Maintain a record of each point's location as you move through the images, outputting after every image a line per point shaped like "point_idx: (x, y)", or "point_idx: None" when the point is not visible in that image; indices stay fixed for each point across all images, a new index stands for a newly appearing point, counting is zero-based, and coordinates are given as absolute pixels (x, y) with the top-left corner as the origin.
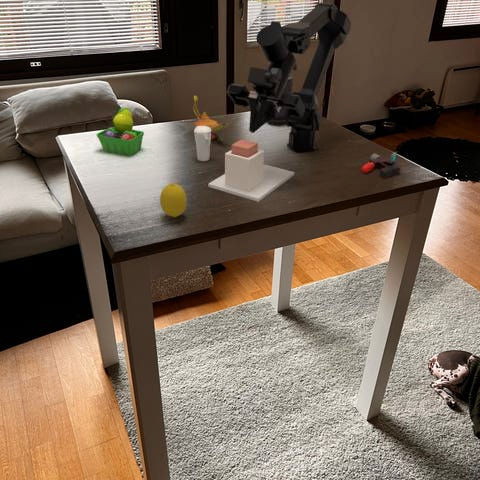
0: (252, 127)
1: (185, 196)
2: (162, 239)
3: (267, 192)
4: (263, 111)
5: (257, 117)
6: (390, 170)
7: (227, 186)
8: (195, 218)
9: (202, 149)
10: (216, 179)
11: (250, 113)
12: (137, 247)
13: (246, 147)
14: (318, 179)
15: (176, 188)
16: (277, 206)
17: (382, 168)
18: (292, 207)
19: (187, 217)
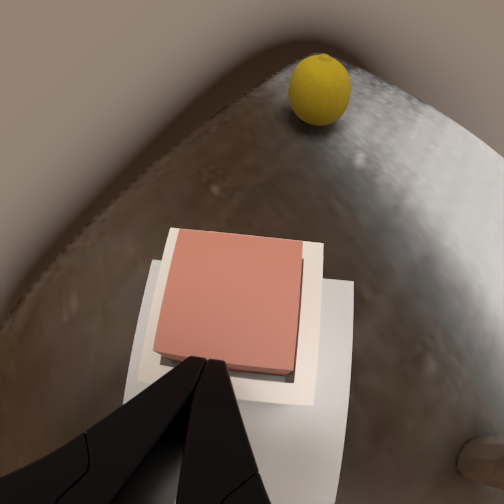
0: (189, 371)
1: (293, 84)
2: (280, 76)
3: (139, 318)
4: (13, 488)
5: (123, 446)
6: None
7: None
8: (271, 133)
9: (493, 442)
10: (349, 325)
11: (267, 502)
12: (299, 59)
13: (196, 245)
14: None
15: (309, 58)
16: (99, 264)
17: None
18: (64, 276)
19: (290, 131)
